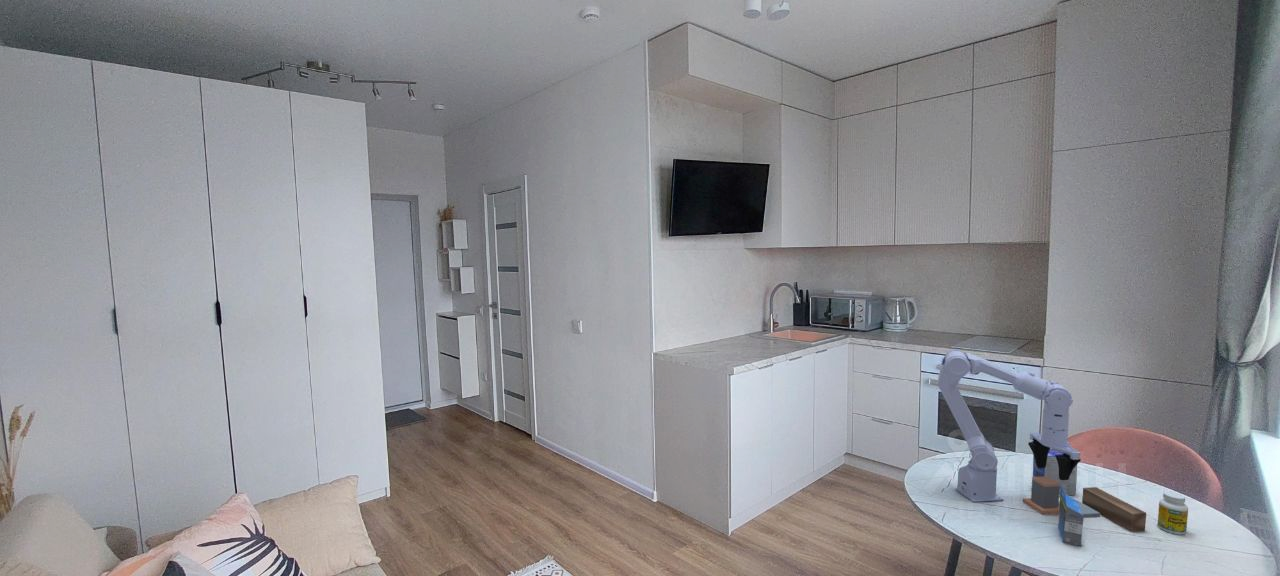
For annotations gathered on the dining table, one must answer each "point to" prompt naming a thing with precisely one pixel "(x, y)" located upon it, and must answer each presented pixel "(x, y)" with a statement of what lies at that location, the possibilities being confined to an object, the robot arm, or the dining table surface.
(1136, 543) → the dining table surface
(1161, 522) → the supplement bottle
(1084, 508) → the slate pad
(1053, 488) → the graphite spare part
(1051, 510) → the terracotta pad
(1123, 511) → the block
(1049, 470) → the ink cartridge box
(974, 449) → the robot arm
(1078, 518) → the label tape cartridge
